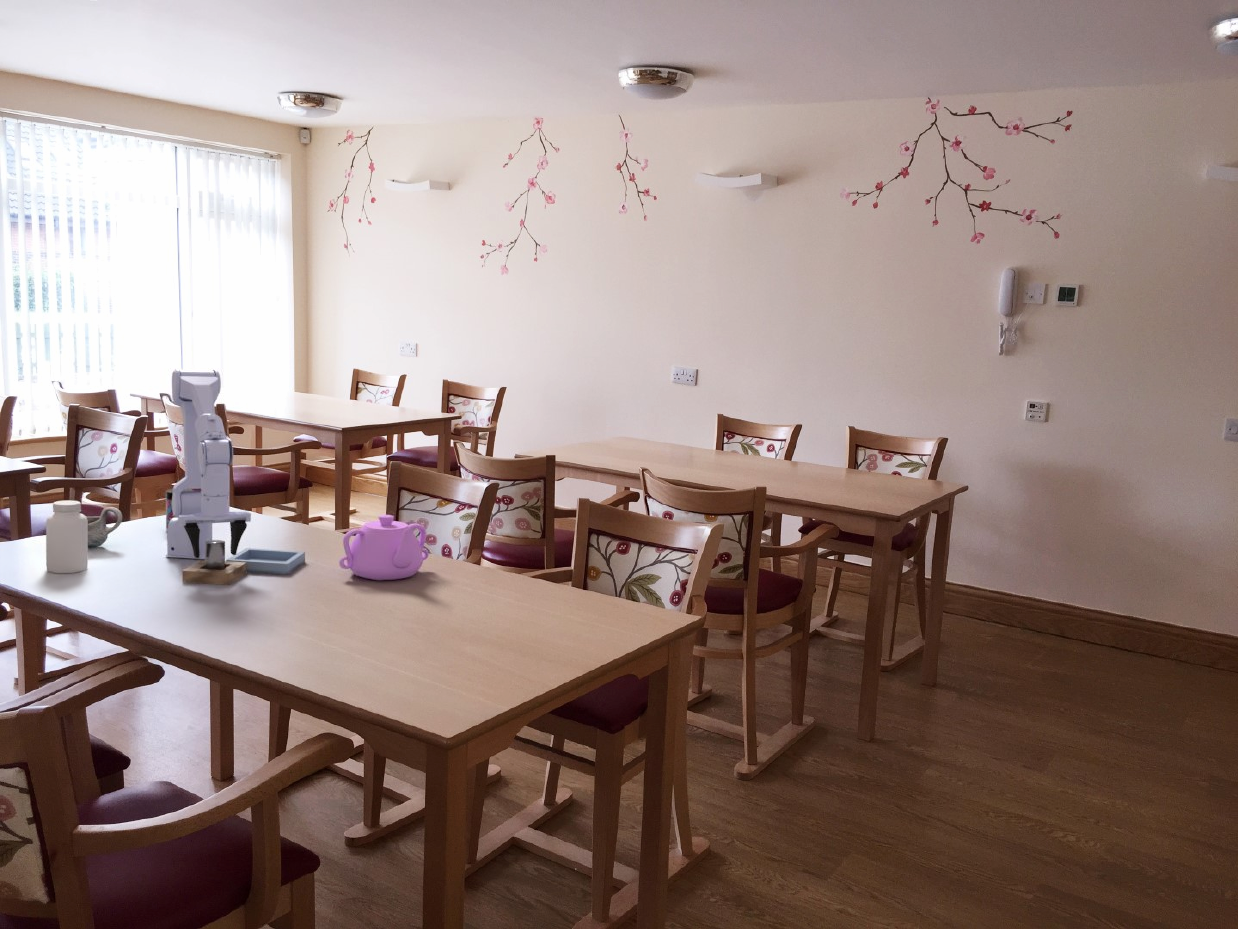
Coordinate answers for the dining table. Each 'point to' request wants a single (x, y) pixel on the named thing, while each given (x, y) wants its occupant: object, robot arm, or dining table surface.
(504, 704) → the dining table surface
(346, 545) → the pink lidded pot
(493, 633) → the dining table surface
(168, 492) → the supplement container
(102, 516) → the mug
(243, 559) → the tray
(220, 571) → the socket block
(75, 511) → the pill bottle
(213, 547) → the pin
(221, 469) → the robot arm
